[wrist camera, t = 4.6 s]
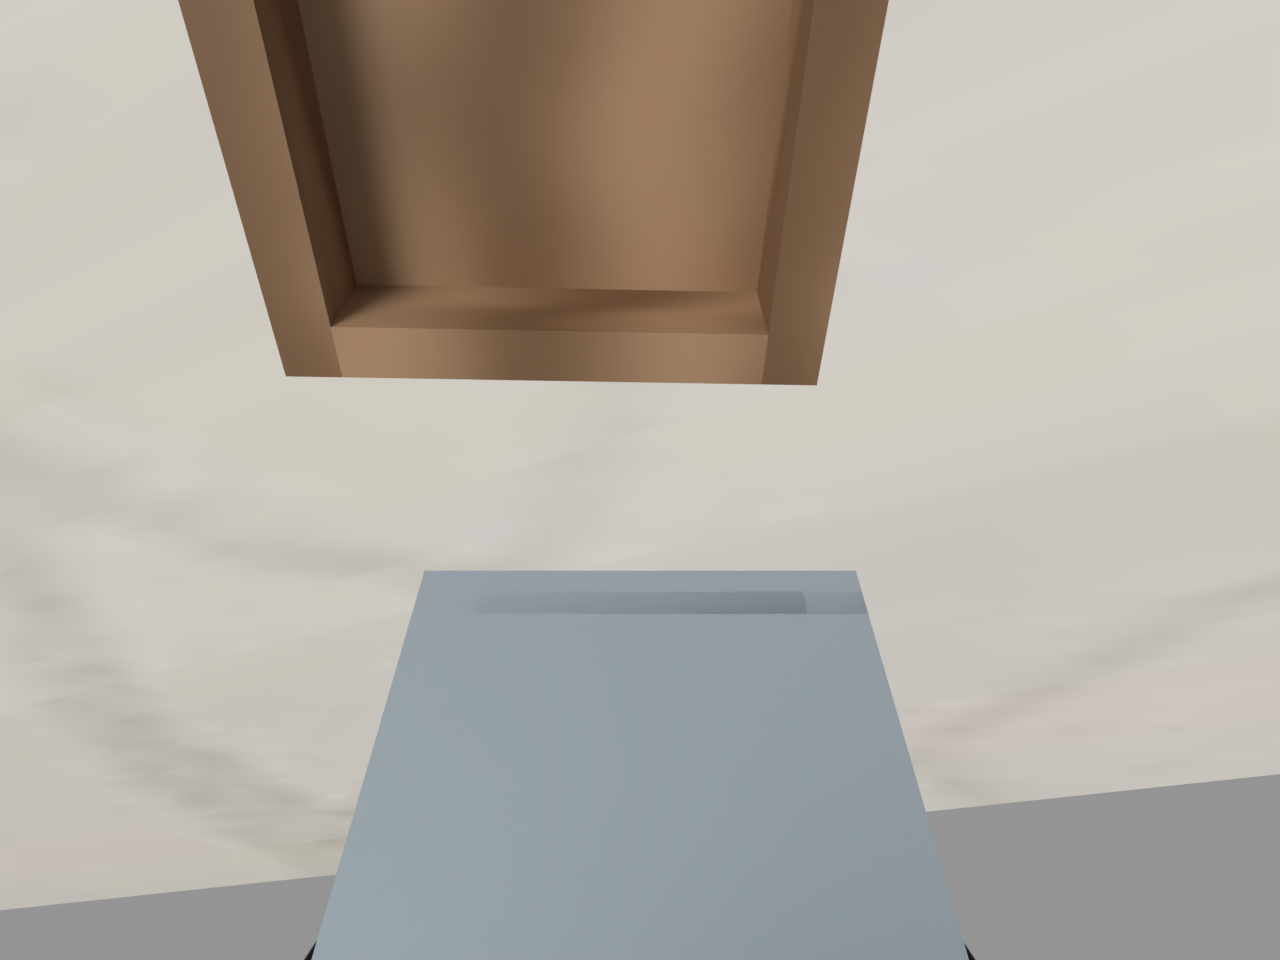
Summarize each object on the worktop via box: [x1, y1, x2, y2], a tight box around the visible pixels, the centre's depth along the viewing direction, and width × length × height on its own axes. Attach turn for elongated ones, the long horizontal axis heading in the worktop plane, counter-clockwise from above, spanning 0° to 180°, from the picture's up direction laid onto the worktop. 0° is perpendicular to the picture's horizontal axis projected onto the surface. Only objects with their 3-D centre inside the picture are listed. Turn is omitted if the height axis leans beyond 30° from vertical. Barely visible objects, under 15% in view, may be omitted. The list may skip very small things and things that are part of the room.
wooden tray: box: [178, 0, 889, 385], centre depth 14 cm, size 11×13×3 cm
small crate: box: [311, 571, 969, 960], centre depth 11 cm, size 6×8×6 cm
